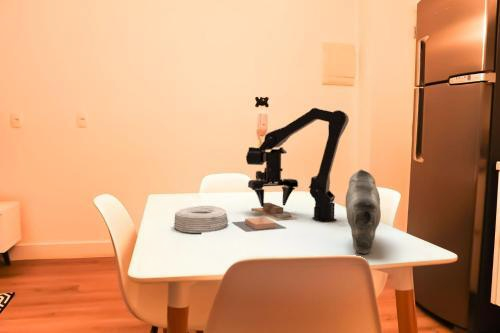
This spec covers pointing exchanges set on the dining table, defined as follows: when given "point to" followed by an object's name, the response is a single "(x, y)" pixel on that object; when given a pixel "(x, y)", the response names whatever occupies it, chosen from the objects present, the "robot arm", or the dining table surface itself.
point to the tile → (260, 223)
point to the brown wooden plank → (275, 210)
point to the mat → (250, 229)
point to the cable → (200, 219)
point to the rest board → (270, 214)
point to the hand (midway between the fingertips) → (273, 206)
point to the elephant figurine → (363, 210)
